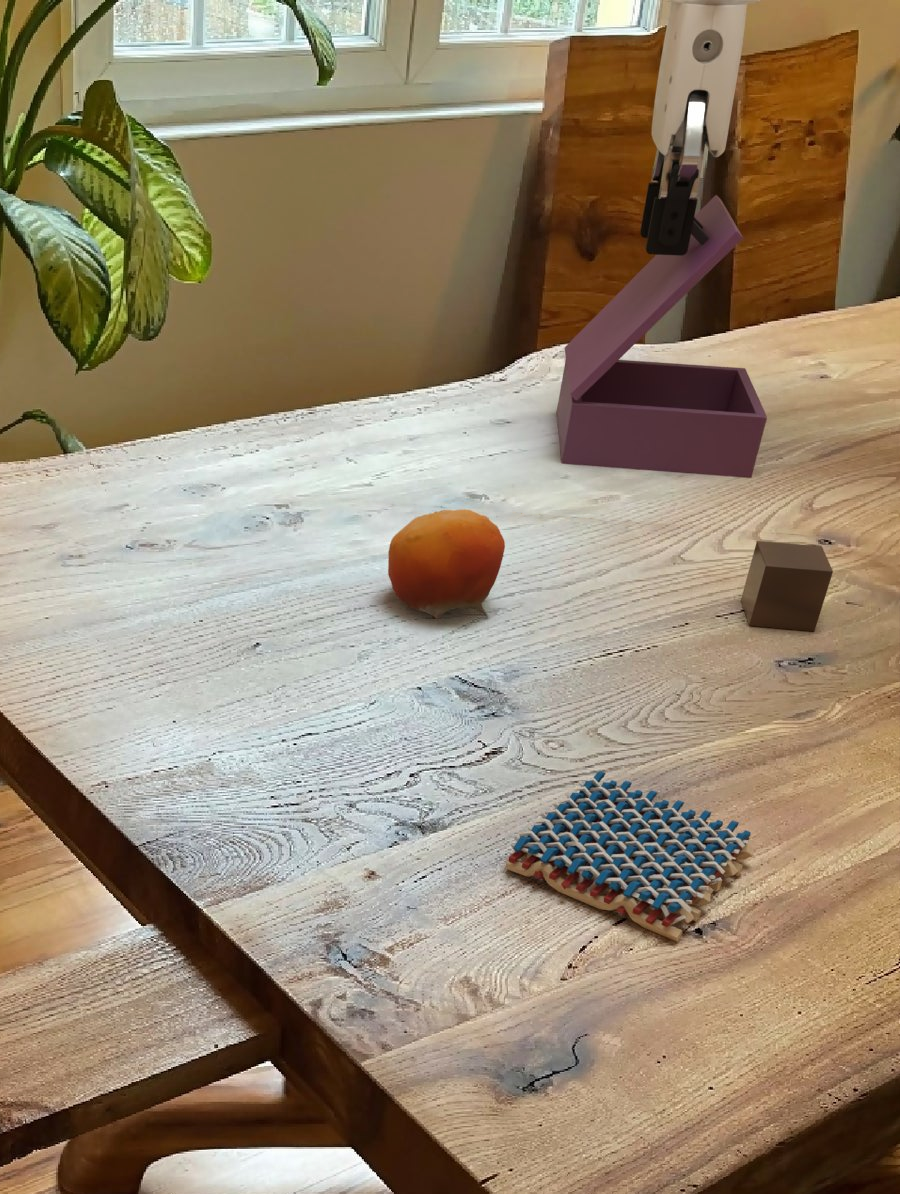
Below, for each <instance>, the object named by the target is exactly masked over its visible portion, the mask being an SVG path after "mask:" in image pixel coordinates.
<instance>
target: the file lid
mask: <svg viewBox="0 0 900 1194" xmlns="http://www.w3.org/2000/svg"><path fill="white" fill-rule="evenodd" d="M658 197H659V194H658ZM743 239H744V236H743V235H742V233H741V232H740V229H739V228H738V226H737V225H736V222H735V221H734V219H733V218H732V215H731V214H730V212H729V211H728V209H727V207H726V205H725V204H724V202H723V201H722V199H721V198H720V197H719V196H718V195H717V194H715V195H714V196H713V197H712V198H711V199H710V200H709V201H708V202H707V203H706V204H705V205H704V206H703V207H702V208H701V209H700V210H699V211H698V212H697V213H695V216H694V221H693V226H692V231H691V236H690V241H689V247H688V251H687V253H686V254H685V255H682V256H680V255H655V256H654V257H653V258H652V259H651V260H650V261H648V263H647V264H646V265H645V266H644V267H643V268H642V269H641V270H640V271H639V272H638V273H637V274H635V276H634V277H633V278H632V279H631V280H630V281H629V282H628V283H627V284H626V285H625V286H623V288H622V289H621V290H620V291H619V292H618V293H617V294H616V295H615V296H614V297H613V298H612V299H611V300H610V301H609V302H608V303H607V304H606V305H605V306H604V307H603V308H602V309H601V310H600V311H599V312H598V313H596V315H595V316H594V317H593V318H592V319H591V320H590V321H589V322H588V323H587V324H586V325H585V327H583V328H582V329H581V330H580V331H579V332H578V333H577V334H576V335H575V336H574V337H573V338H572V339H571V340H570V341H569V342H568V343H567V345H565V346H564V355H565V360H566V363H567V371H568V379H569V387H570V394H571V396H572V397H573V398H574V399H575V400H578V399H579V398H580V397H581V396H582V395H583V394H584V393H585V392H586V391H587V390H588V389H589V388H590V387H591V386H592V385H593V384H594V383H595V382H596V381H597V380H598V379H600V378H601V377H602V376H603V375H604V374H605V373H606V372H607V371H608V370H609V369H610V368H611V367H612V366H613V365H614V364H615V363H616V362H617V361H618V360H621V358H622V357H624V355H625V354H626V353H627V352H629V351H630V349H632V347H634V346H635V345H636V344H637V342H639V341H640V340H641V339H642V338H643V337H644V336H645V335H646V334H647V333H648V332H649V331H650V330H651V329H653V327H654V326H656V324H657V323H658V322H659V321H660V320H661V319H663V317H664V316H666V314H667V313H669V311H670V310H671V309H673V307H675V305H676V304H677V303H678V302H679V301H680V300H682V299H683V298H684V297H685V296H686V295H687V294H688V293H689V292H690V291H691V290H692V289H693V288H694V287H695V286H696V285H697V284H698V283H699V282H700V281H701V280H702V279H704V277H705V276H706V275H707V274H709V272H710V271H712V269H713V268H714V267H715V266H717V264H718V263H719V262H720V261H722V260H723V259H724V258H725V257H726V256H727V255H728V254H729V253H730V252H731V251H732V250H733V249H734V248H735V247H736V246H737V245H738V244H739V243H740V242H741V241H742V240H743Z"/></svg>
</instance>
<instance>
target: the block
mask: <svg viewBox="0 0 900 1194" xmlns="http://www.w3.org/2000/svg"><path fill="white" fill-rule="evenodd" d="M833 573H834V570H833V568H832V566H831V564H830V561H829V559H828V556H827V554H826V553H825V550H824V547H823V546H822V545H813V544H802V543H801V544H800V543H789V542H788V543H787V542H778V541H777V542H775V541H765V540H764V541H763V540H757V541H756V542H755V547H754V550H753V554H752V557H751V561H750V563H749V568H748V572H747V575H746V580H745V583H744V587H743V590H742V594H741V598H740V602H741V604H742V607H743V610H744V614H745V617H746V620H747V623H748V626H749V627H758V628H769V629H781V630H793V631H802V632H803V631H805V632H816V628H817V625H818V622H819V619H820V615H821V612H822V609H823V605H824V602H825V599H826V596H827V593H828V589H829V586H830V583H831V580H832V576H833Z"/></svg>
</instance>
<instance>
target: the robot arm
mask: <svg viewBox="0 0 900 1194" xmlns="http://www.w3.org/2000/svg"><path fill="white" fill-rule="evenodd" d="M661 1H663V2H665V3H666V2H667V3H670V6H669V11H668V12H669V13H668V18H667V24H666V27H665V28H666V30H665V33H664V40H663V46H662V52H661V57H660V64H659V70H658V75H657V76H658V77H657V83H656V89H655V97H654V103H653V104H654V105H653V112H652V122H651V138H652V141H653V143H654V145H655V147H656V153H655V157H654V161H653V167H652V171H651V180H650V182H648V184H647V190H646V195H645V200H644V201H645V202H644V207H643V212H642V219H641V222H640V223H641V226H640V230H639V233H640V236H641V237H642V238H644V239H646V244H645V251H646V253H647V254H648V255H655V256H656V255H680V256H682V255H685V254H686V253H687V251H688V247H689V241H690V236H691V231H692V226H693V221H694V216H695V215H696V210H697V206H698V205H697V204H698V198H697V197H698V192H699V187H700V180H701V172H702V166H703V160H704V153H705V149H706V148H707V150H708V151H709V153H710V154H711V155H712V157H714V158H718V157H720V156H721V155H722V154H723V153H724V152H725V151H726V146H727V141H728V137H729V136H728V135H729V128H730V123H731V116H732V111H733V105H734V98H735V92H736V86H737V81H738V76H739V70H740V64H741V59H742V58H741V57H742V52H743V45H744V38H745V30H746V22H747V12H748V11H747V10H748V5H751V4H757V3H761V1H762V0H661ZM705 147H706V148H705ZM658 194H659V197H658Z"/></svg>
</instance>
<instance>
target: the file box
mask: <svg viewBox="0 0 900 1194" xmlns="http://www.w3.org/2000/svg"><path fill="white" fill-rule="evenodd" d="M559 389H560V390H559V396H558V403H557V407H556V413H555V414H556V424H557V434H558V435H557V436H558V442H559V452H560V453H559V454H560V461H561V462H560V463H561V464H562V465H570V466H571V465H573V466H585V467H598V468H612V469H626V470H640V471H651V472H652V471H653V472H665V473H667V472H668V473H678V474H679V473H680V474H691V475H704V476H705V475H706V476H717V477H718V476H720V477H731V478H744V479H752V478H753V477H752V476H753V473H754V470H755V466H756V462H757V458H758V453H759V450H760V447H761V442H762V438H763V435H764V431H765V427H766V424H767V420H768V416H767V415H766V411H765V409H764V407H763V405H762V403H761V400H760V398H759V396H758V393H757V391H756V389H755V387H754V385H753V382H752V380H751V378H750V375H749V373H748V371H747V369H746V368H744V367H735V366H734V367H733V366H719V365H704V364H703V365H702V364H687V363H672V362H660V361H646V360H645V361H644V360H642V361H641V360H627V359H619V360H618V361H617V362H616V363H615V364H614V365H613V366H612V367H611V368H610V369H609V370H608V371H607V372H606V373H605V374H604V375H603V376H602V377H601V378H600V379H598V380H597V381H596V382H595V383H594V384H593V385H592V386H591V387H590V388H589V389H588V390H587V391H586V392H585V393H584V394H583V395H582V396H581V397H580V398H579V399H578V400H575V399H574V398H573V397H572V396H571V394H570V387H569V379H568V371H567V363H566V359H565V360H564V366H563V373H562V378H561V384H560V388H559Z"/></svg>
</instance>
